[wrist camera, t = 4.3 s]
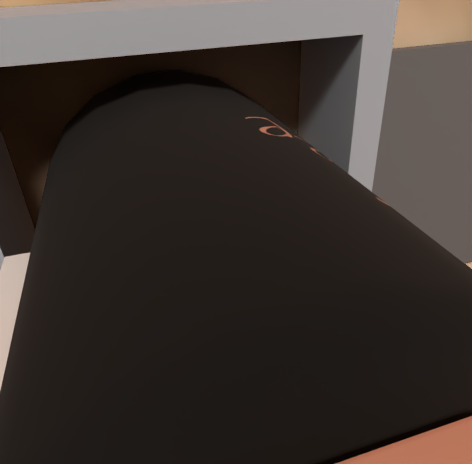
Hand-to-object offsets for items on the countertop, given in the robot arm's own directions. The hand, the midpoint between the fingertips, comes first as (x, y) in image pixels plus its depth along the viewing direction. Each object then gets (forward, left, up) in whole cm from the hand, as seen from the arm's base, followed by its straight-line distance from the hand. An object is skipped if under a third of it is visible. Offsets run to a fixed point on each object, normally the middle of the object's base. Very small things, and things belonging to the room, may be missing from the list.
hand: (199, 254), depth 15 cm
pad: (+17, -2, -6) cm, 18 cm away
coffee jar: (0, 0, -7) cm, 7 cm away
